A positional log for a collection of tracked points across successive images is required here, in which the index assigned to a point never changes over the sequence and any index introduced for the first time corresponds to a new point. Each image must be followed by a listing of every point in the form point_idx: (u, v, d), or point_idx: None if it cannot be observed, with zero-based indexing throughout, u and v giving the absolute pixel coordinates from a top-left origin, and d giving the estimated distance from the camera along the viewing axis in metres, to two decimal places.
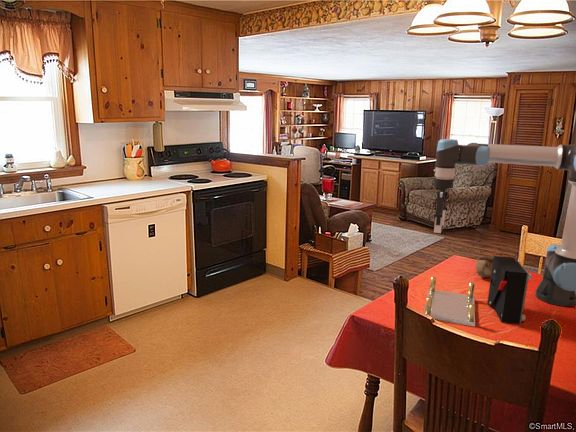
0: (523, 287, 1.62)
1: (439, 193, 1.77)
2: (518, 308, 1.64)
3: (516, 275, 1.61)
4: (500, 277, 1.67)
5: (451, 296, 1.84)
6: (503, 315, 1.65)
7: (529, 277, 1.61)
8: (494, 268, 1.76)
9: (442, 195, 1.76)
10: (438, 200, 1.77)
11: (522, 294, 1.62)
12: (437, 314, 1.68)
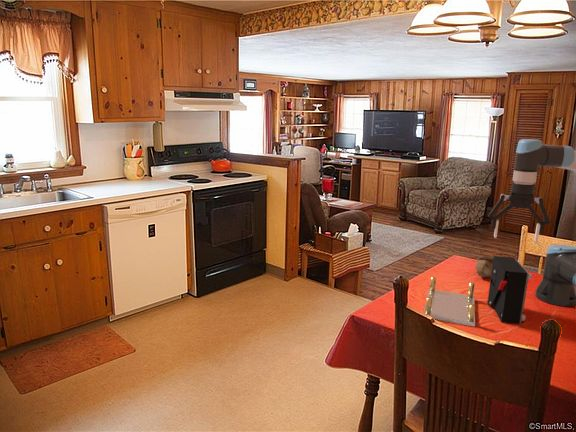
0: (523, 287, 1.62)
1: (501, 195, 1.66)
2: (518, 308, 1.64)
3: (516, 275, 1.61)
4: (500, 277, 1.67)
5: (451, 296, 1.84)
6: (503, 315, 1.65)
7: (529, 277, 1.61)
8: (494, 268, 1.76)
9: (500, 197, 1.65)
10: (497, 202, 1.67)
11: (522, 294, 1.62)
12: (437, 314, 1.68)
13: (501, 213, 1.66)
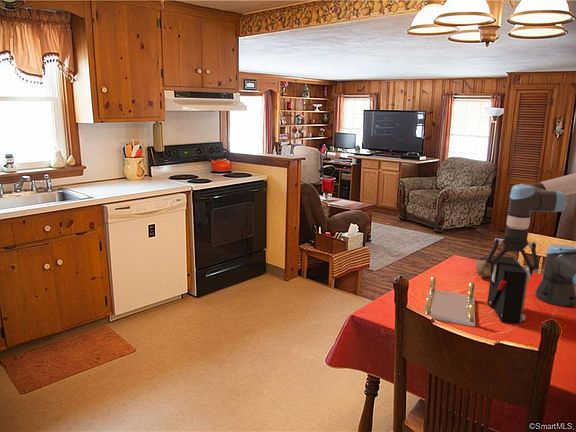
0: (523, 287, 1.62)
1: (495, 239, 1.70)
2: (518, 308, 1.64)
3: (515, 275, 1.61)
4: (499, 277, 1.67)
5: (451, 296, 1.84)
6: (503, 315, 1.65)
7: (528, 277, 1.61)
8: None
9: (495, 242, 1.69)
10: (493, 246, 1.71)
11: (522, 294, 1.62)
12: (437, 314, 1.68)
13: (498, 258, 1.69)
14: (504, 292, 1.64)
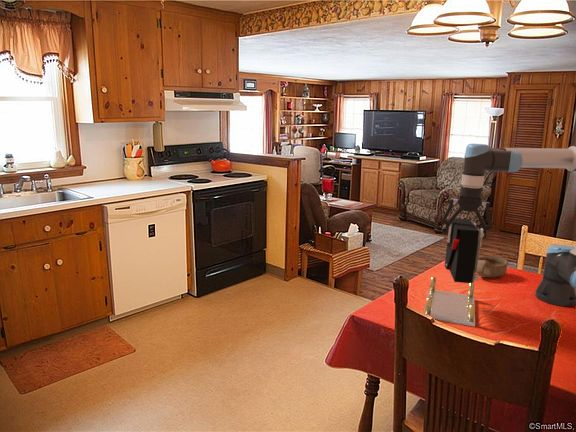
0: (475, 245, 1.61)
1: (450, 199, 1.69)
2: (470, 267, 1.63)
3: (468, 233, 1.61)
4: (453, 236, 1.66)
5: (451, 296, 1.84)
6: (456, 274, 1.65)
7: (481, 235, 1.61)
8: None
9: (450, 201, 1.69)
10: None
11: (474, 252, 1.62)
12: (437, 314, 1.68)
13: (452, 218, 1.69)
14: (457, 251, 1.64)
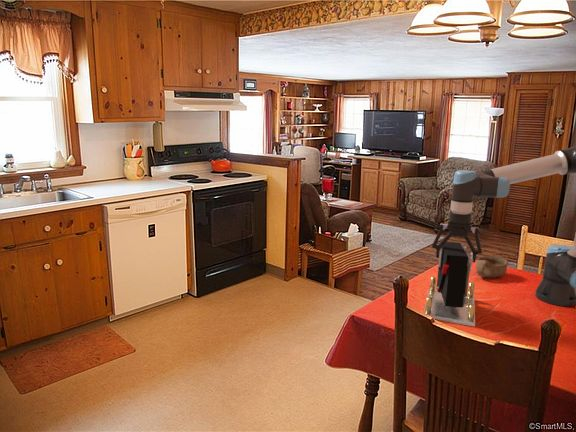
0: (464, 270, 1.64)
1: (440, 224, 1.72)
2: (460, 291, 1.66)
3: (457, 259, 1.63)
4: (444, 261, 1.69)
5: None
6: (446, 299, 1.68)
7: (470, 261, 1.64)
8: None
9: None
10: None
11: (464, 277, 1.65)
12: (437, 314, 1.68)
13: (443, 242, 1.72)
14: (447, 276, 1.67)
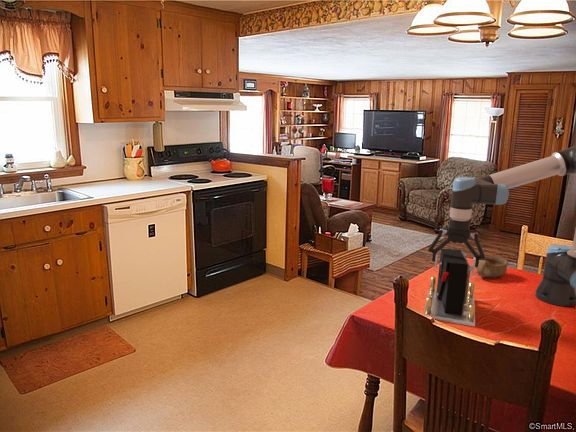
0: (464, 278, 1.65)
1: None
2: (460, 299, 1.67)
3: (457, 266, 1.64)
4: (444, 269, 1.70)
5: None
6: (446, 306, 1.68)
7: (470, 268, 1.64)
8: (441, 260, 1.79)
9: (439, 232, 1.72)
10: (437, 236, 1.74)
11: (463, 285, 1.65)
12: (437, 314, 1.68)
13: (440, 247, 1.72)
14: (447, 283, 1.67)
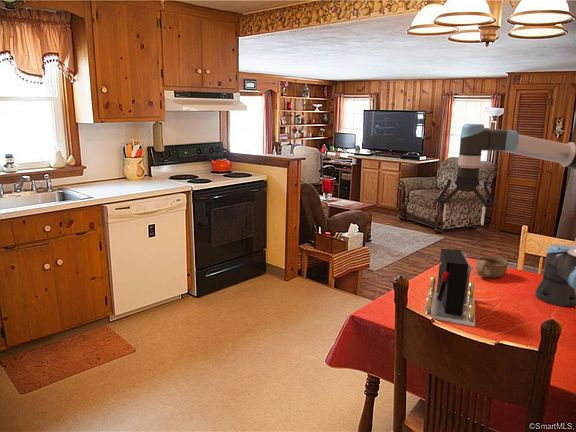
0: (464, 278, 1.65)
1: (448, 179, 1.69)
2: (460, 299, 1.67)
3: (457, 266, 1.64)
4: (444, 269, 1.70)
5: None
6: (446, 306, 1.68)
7: (470, 268, 1.64)
8: (441, 260, 1.79)
9: (447, 181, 1.69)
10: (445, 186, 1.70)
11: (463, 285, 1.65)
12: (437, 314, 1.68)
13: (448, 197, 1.69)
14: (447, 283, 1.67)
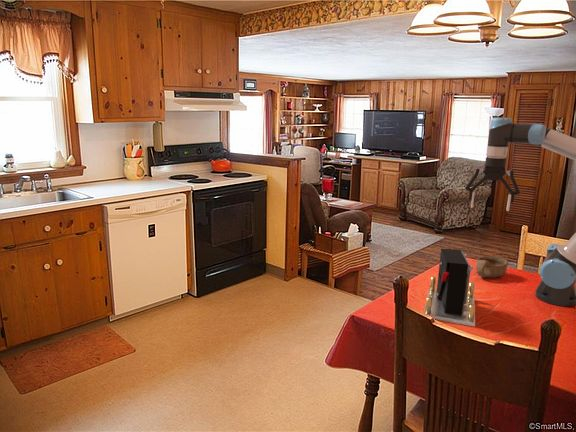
0: (464, 278, 1.65)
1: (476, 169, 1.84)
2: (460, 299, 1.67)
3: (457, 266, 1.64)
4: (444, 269, 1.70)
5: None
6: (446, 306, 1.68)
7: (470, 268, 1.64)
8: (441, 260, 1.79)
9: (476, 170, 1.83)
10: None
11: (463, 285, 1.65)
12: (437, 314, 1.68)
13: (476, 185, 1.83)
14: (447, 283, 1.67)
